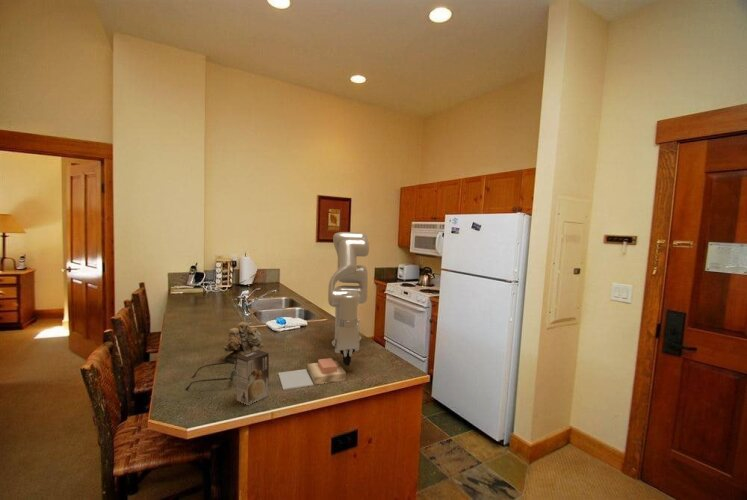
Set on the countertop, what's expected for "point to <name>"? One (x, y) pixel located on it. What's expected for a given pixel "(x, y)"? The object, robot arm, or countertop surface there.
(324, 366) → the salmon pink rectangular block
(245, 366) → the coffee box
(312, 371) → the plate
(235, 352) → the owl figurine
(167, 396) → the countertop surface
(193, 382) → the sunglasses
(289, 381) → the mat
